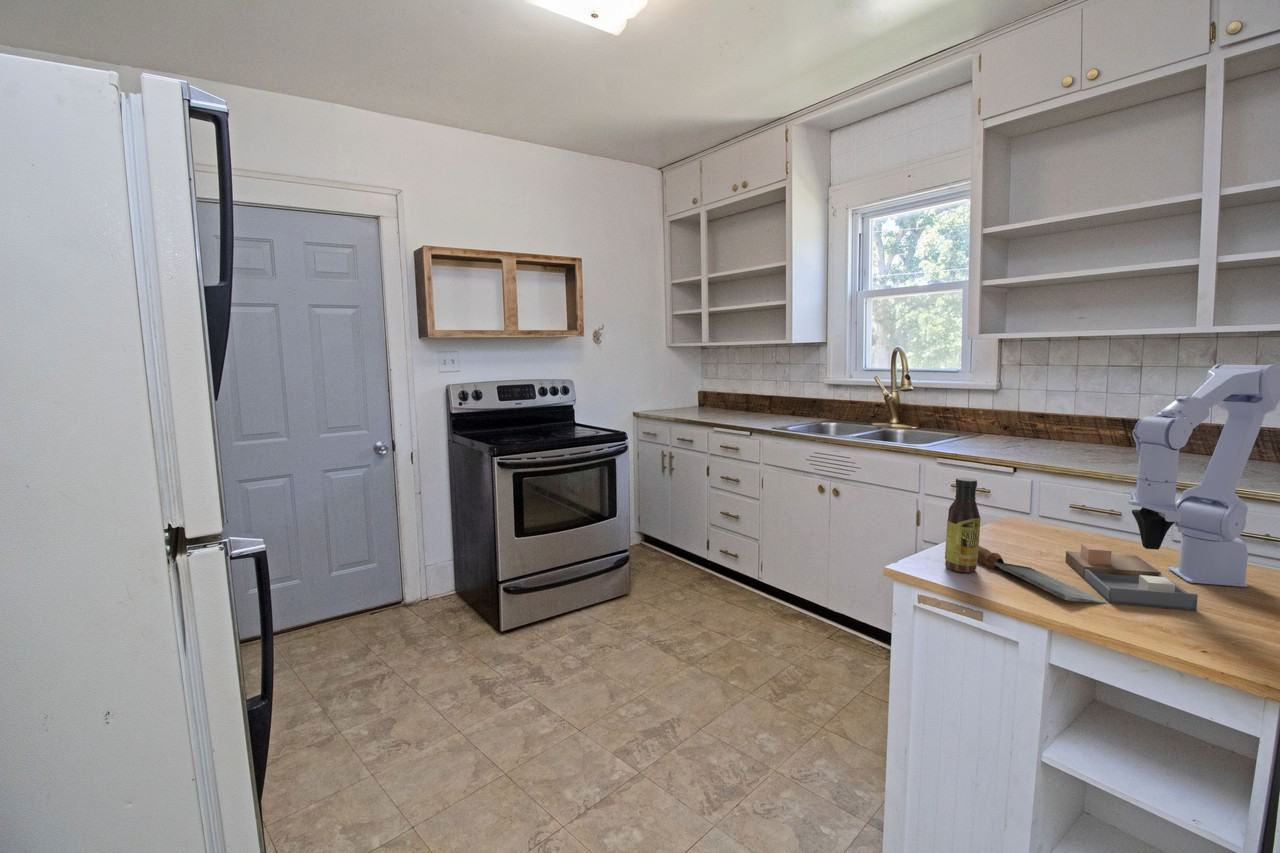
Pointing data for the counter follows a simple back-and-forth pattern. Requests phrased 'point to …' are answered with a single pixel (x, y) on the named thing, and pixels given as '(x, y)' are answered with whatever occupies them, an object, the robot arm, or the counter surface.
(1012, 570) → the meat cleaver
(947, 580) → the counter surface
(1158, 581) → the pale grey cube
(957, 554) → the sauce bottle
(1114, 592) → the charcoal tray
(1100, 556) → the peach matte cube
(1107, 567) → the walnut board
